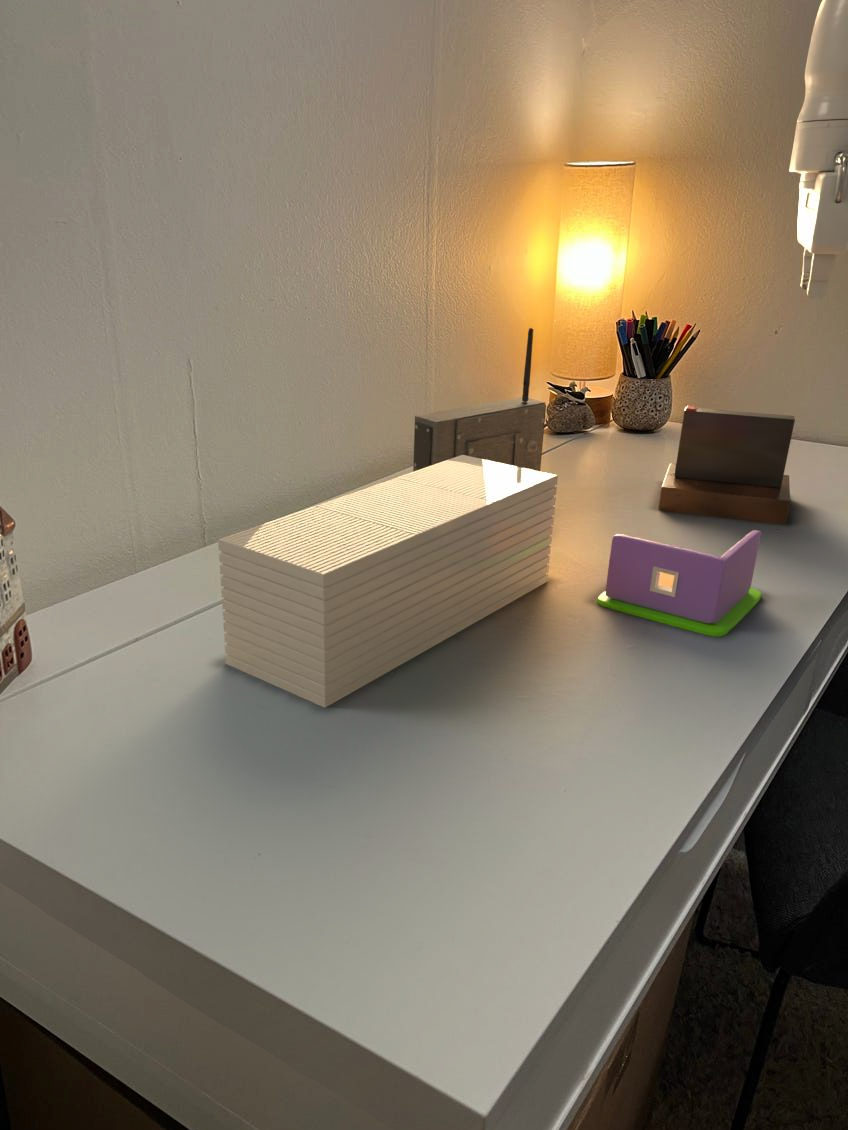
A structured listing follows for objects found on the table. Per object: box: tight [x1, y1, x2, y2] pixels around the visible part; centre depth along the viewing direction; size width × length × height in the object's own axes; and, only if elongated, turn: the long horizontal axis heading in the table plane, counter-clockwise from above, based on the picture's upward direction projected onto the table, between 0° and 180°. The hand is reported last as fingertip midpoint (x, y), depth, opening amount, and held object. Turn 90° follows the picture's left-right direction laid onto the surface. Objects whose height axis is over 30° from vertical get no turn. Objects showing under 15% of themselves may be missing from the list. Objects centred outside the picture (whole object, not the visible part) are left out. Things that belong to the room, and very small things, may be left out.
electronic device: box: [412, 327, 547, 472], centre depth 109 cm, size 17×7×20 cm, turn 128°
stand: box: [657, 462, 791, 525], centre depth 115 cm, size 14×11×3 cm
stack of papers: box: [217, 455, 559, 708], centre depth 82 cm, size 32×11×11 cm, turn 140°
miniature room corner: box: [596, 529, 762, 637], centre depth 87 cm, size 12×12×7 cm
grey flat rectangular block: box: [674, 405, 796, 488], centre depth 112 cm, size 12×2×8 cm, turn 70°
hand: (811, 293), depth 106 cm, fingers open, 8 cm apart
